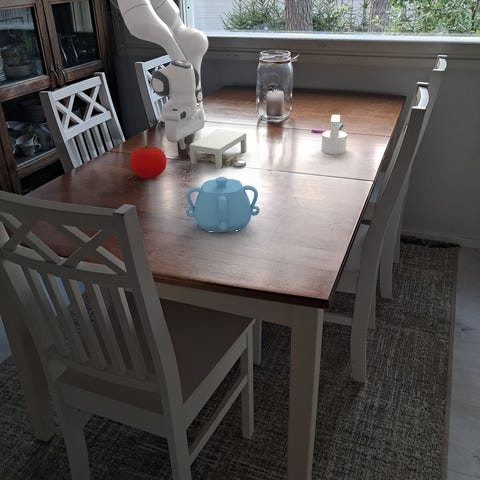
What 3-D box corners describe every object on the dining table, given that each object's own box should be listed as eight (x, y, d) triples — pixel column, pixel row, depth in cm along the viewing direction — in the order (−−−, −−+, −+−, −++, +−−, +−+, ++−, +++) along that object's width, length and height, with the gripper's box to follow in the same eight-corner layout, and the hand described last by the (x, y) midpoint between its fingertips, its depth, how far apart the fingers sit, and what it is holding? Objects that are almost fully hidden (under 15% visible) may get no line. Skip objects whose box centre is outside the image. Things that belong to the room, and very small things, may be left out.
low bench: (190, 163, 183) (189, 144, 180) (219, 146, 198) (218, 128, 195) (219, 168, 178) (219, 149, 175) (246, 151, 193) (246, 132, 190)
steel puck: (230, 167, 180) (229, 162, 179) (234, 162, 184) (234, 158, 183) (243, 168, 178) (243, 164, 178) (248, 163, 183) (248, 159, 182)
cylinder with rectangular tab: (345, 154, 188) (348, 122, 182) (320, 153, 190) (322, 121, 184) (345, 146, 196) (348, 115, 190) (322, 145, 197) (323, 114, 192)
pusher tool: (176, 157, 189) (174, 133, 185) (185, 152, 194) (183, 129, 189) (228, 166, 180) (227, 141, 175) (236, 161, 184) (236, 136, 180)
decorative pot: (228, 206, 151) (226, 163, 145) (265, 225, 140) (265, 178, 134) (182, 223, 142) (178, 178, 136) (218, 244, 131) (215, 196, 125)
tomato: (129, 173, 176) (125, 143, 171) (163, 167, 180) (161, 138, 175) (135, 184, 167) (131, 154, 162) (171, 179, 171) (168, 148, 166)
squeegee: (320, 120, 222) (342, 122, 219) (319, 124, 223) (342, 126, 220) (301, 141, 200) (326, 144, 196) (301, 146, 200) (326, 148, 197)
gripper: (192, 101, 191) (195, 137, 197) (160, 115, 175) (164, 153, 182) (207, 103, 188) (209, 139, 195) (175, 117, 172) (179, 156, 179)
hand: (187, 146), depth 188 cm, fingers closed on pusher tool, 3 cm apart
